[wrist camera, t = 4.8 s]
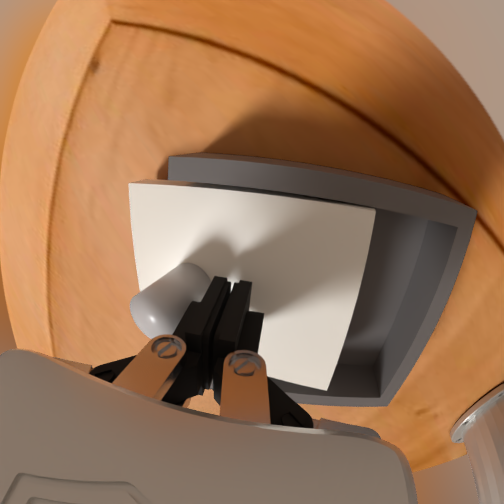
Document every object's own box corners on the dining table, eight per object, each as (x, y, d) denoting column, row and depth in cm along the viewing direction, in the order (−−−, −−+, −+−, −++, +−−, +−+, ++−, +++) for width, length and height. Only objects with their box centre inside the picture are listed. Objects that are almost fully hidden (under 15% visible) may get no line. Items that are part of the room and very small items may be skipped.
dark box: (439, 193, 12) (477, 210, 9) (377, 366, 18) (387, 406, 14) (200, 152, 14) (168, 156, 10) (197, 342, 19) (178, 381, 15)
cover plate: (373, 204, 11) (385, 240, 6) (330, 372, 15) (313, 440, 10) (146, 179, 14) (76, 197, 10) (160, 322, 18) (115, 363, 14)
